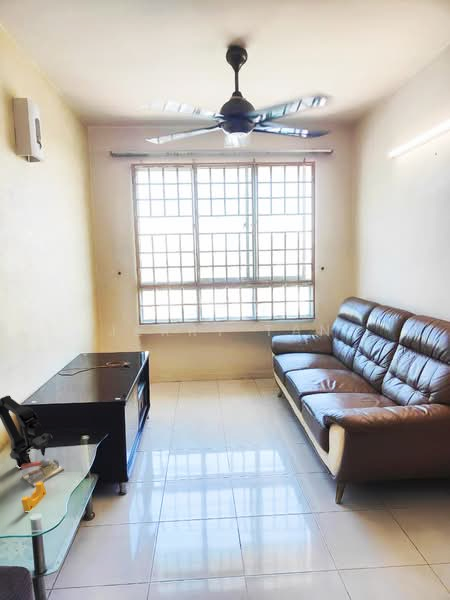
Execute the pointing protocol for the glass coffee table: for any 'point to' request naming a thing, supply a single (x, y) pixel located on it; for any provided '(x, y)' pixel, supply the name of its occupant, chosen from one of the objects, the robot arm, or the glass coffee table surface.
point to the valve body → (43, 471)
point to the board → (43, 478)
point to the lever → (36, 463)
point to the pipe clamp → (34, 497)
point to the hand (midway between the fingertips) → (37, 459)
